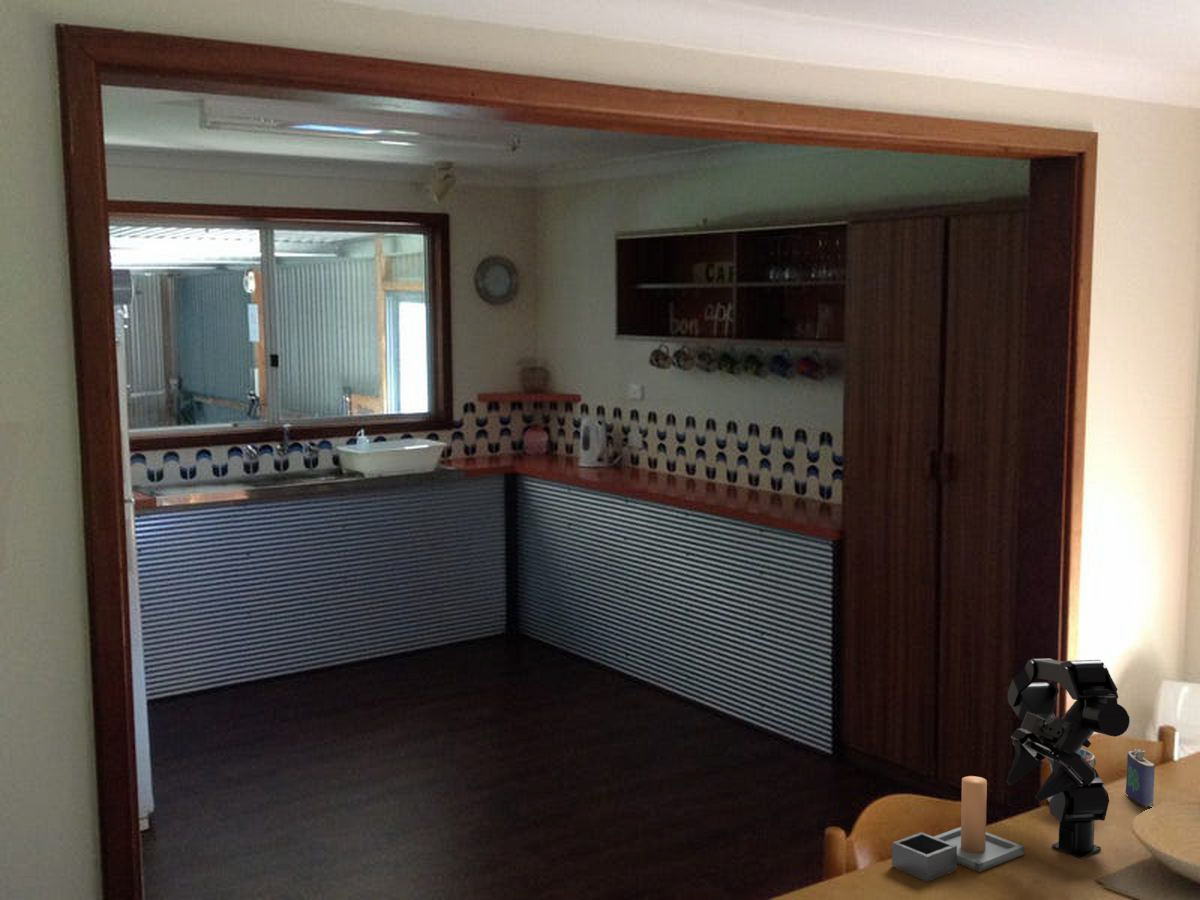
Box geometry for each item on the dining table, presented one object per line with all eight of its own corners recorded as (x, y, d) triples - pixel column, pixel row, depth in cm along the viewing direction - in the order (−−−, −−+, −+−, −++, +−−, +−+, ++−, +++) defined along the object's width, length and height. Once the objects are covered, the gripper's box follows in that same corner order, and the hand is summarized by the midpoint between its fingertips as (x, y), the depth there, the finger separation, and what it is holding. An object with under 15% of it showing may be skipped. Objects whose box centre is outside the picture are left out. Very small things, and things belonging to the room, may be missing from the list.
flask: (1155, 808, 259) (1157, 756, 258) (1141, 809, 259) (1143, 757, 258) (1135, 792, 269) (1136, 742, 268) (1121, 792, 268) (1122, 742, 267)
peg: (970, 841, 242) (972, 774, 241) (990, 849, 238) (991, 781, 237) (955, 847, 239) (956, 779, 238) (975, 855, 236) (976, 786, 235)
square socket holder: (921, 855, 237) (921, 831, 237) (956, 870, 231) (956, 845, 230) (891, 866, 233) (892, 842, 232) (927, 881, 226) (927, 857, 226)
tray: (966, 832, 248) (966, 824, 248) (1024, 854, 238) (1024, 846, 237) (921, 848, 240) (921, 841, 240) (979, 872, 230) (979, 864, 230)
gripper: (1020, 684, 241) (967, 748, 239) (1081, 710, 223) (1024, 778, 221) (1057, 723, 244) (1004, 785, 241) (1120, 751, 225) (1064, 819, 223)
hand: (1022, 791), depth 232 cm, fingers open, 9 cm apart
